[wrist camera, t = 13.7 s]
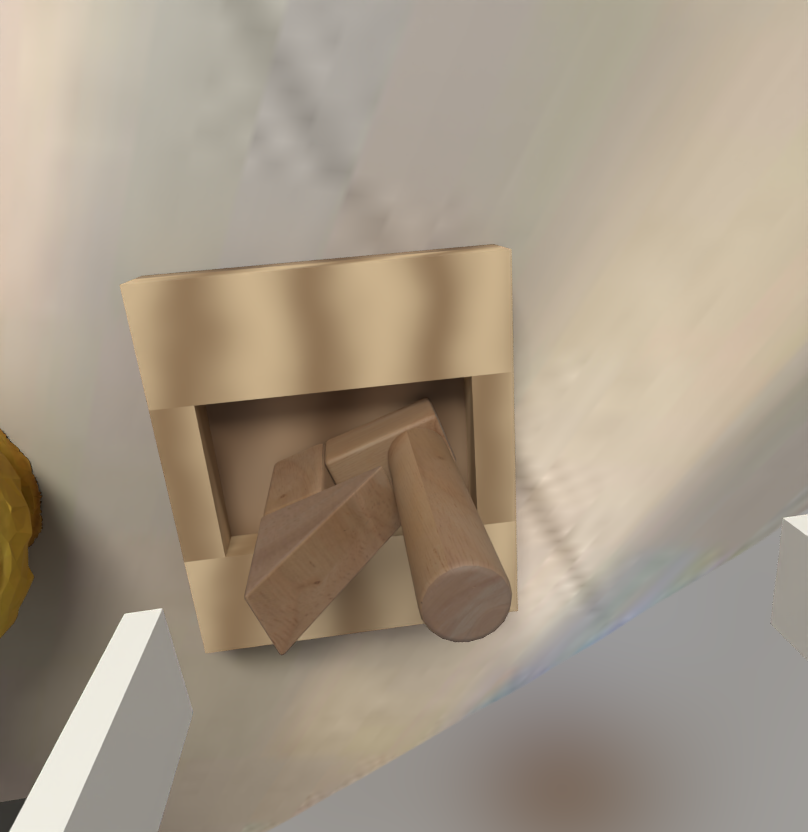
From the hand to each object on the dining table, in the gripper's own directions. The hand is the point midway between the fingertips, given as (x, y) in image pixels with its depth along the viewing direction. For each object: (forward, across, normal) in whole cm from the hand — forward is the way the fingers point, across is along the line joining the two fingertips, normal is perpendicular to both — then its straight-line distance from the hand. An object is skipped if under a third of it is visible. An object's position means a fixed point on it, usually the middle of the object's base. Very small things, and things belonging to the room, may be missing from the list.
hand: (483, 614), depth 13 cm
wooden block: (+26, +3, +7) cm, 27 cm away
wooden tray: (+27, +4, +7) cm, 29 cm away
